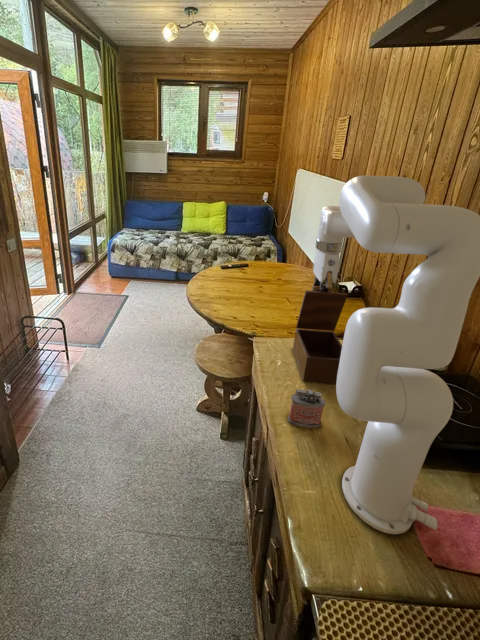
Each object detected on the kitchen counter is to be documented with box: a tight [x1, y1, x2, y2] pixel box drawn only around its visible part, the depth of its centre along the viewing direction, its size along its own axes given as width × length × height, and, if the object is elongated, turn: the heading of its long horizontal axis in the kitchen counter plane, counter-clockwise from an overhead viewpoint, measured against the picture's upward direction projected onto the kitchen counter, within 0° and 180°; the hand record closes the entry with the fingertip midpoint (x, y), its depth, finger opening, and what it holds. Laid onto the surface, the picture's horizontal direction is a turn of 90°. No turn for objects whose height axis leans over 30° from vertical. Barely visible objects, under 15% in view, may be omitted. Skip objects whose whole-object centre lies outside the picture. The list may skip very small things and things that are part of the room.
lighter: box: [287, 389, 326, 429], centre depth 79 cm, size 8×3×10 cm, turn 82°
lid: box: [295, 285, 348, 332], centre depth 103 cm, size 16×13×6 cm
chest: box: [292, 328, 342, 385], centre depth 100 cm, size 16×13×9 cm
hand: (319, 297), depth 103 cm, fingers open, 4 cm apart
